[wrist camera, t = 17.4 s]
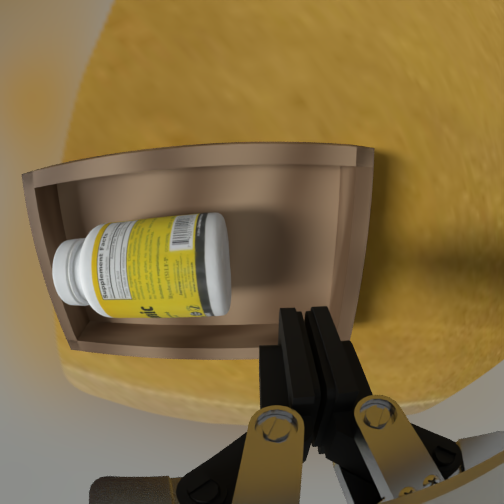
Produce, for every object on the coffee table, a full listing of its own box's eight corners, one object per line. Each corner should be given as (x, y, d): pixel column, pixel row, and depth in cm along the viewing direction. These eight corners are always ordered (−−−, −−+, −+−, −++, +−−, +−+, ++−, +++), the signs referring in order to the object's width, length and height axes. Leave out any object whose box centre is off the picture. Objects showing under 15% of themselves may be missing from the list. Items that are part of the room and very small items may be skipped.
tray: (350, 144, 16) (374, 148, 13) (334, 322, 21) (347, 351, 18) (51, 165, 16) (21, 174, 13) (88, 323, 21) (71, 349, 18)
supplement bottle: (234, 303, 18) (96, 305, 18) (229, 215, 18) (89, 227, 18) (226, 330, 13) (51, 326, 13) (218, 206, 12) (40, 225, 12)
